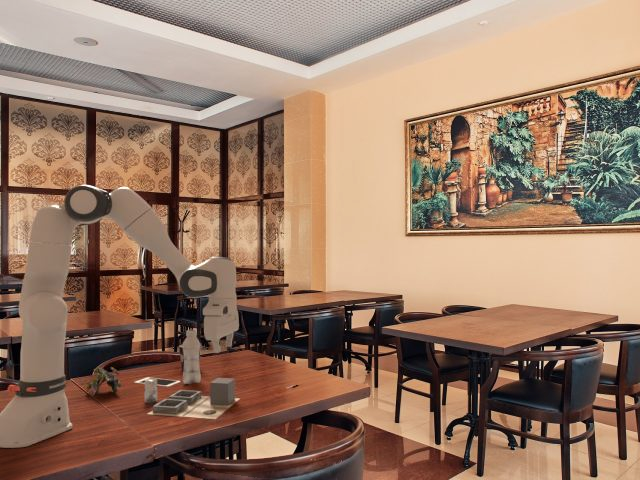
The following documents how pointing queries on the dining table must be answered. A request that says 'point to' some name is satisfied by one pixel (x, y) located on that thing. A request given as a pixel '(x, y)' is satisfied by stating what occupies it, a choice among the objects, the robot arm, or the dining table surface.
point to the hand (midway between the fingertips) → (223, 349)
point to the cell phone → (160, 382)
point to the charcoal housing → (222, 391)
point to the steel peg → (150, 390)
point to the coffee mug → (183, 356)
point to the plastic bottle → (191, 358)
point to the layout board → (189, 406)
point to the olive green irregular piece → (106, 377)
